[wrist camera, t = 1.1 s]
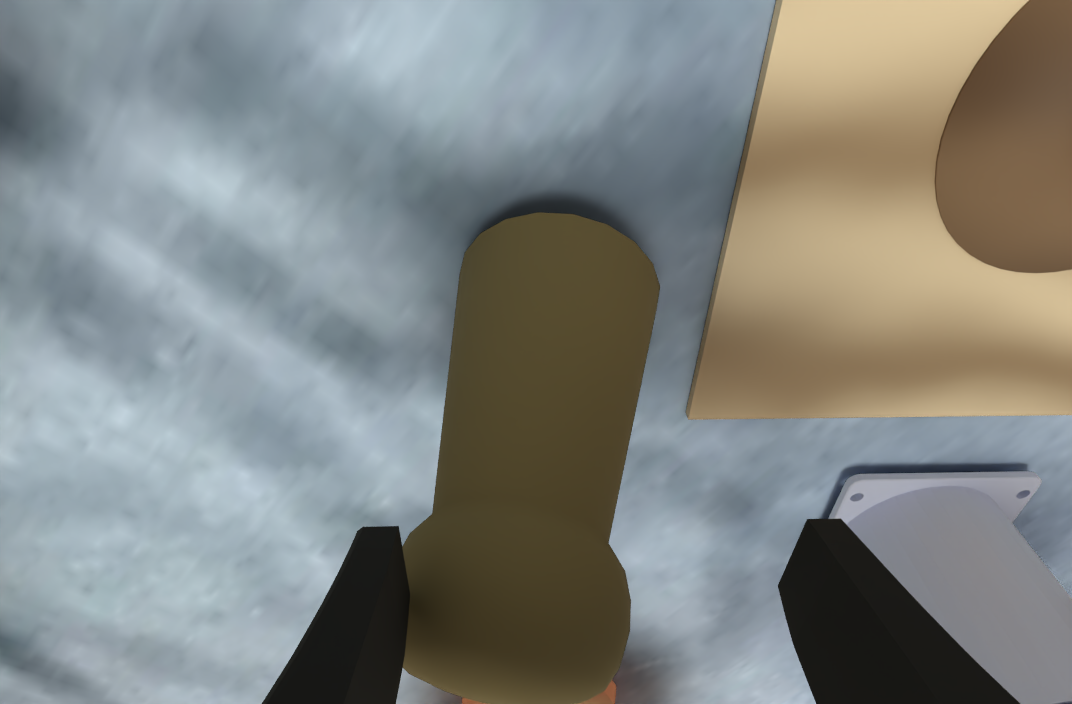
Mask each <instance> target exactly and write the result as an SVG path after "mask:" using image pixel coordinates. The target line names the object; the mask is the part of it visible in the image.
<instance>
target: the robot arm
mask: <svg viewBox="0 0 1072 704" xmlns="http://www.w3.org/2000/svg"><path fill="white" fill-rule="evenodd" d="M1041 483H1042V481H1041V479H1040V477H1039V476H1038V475H1037V474H1036V473H1034V472H1030V471H1015V472H952V473H888V474H856V475H853V476H851V477H850V478H848V479H847V481H846V482H845V484H844V486H843V488H842V490H841V492H840V495H839V497H838V499H837V501H836V503H835V505H834V507H833V509H832V512H831V514H830V516H829V518H828V519H807V521H806V523H805V525H804V528H803V530H802V532H801V535H800V537H799V539H798V541H797V544H796V546H795V548H794V550H793V553H792V555H791V557H790V559H789V562H788V564H787V566H786V569H785V571H784V573H783V575H782V578H781V580H780V582H779V584H778V588H779V592H780V596H781V600H782V604H783V608H784V612H785V616H786V620H787V623H788V627H789V631H790V634H791V638H792V641H793V645H794V647H795V650H796V653H797V655H798V658H799V661H800V663H801V666H802V668H803V671H804V673H805V676H806V679H807V681H808V684H809V686H810V689H811V691H812V694H813V696H814V699H815V701H816V704H1072V598H1071V597H1070V596H1069V594H1068V593H1067V592H1066V591H1065V589H1064V588H1063V587H1062V586H1061V584H1060V583H1059V582H1058V580H1057V579H1056V578H1055V577H1054V575H1053V574H1052V573H1051V572H1050V570H1049V569H1048V568H1047V567H1046V565H1045V564H1044V563H1043V561H1042V560H1041V559H1040V558H1039V556H1038V555H1037V554H1036V553H1035V551H1034V550H1033V549H1032V548H1031V546H1030V545H1029V544H1028V542H1027V541H1026V540H1025V539H1024V537H1023V536H1022V535H1021V534H1020V532H1019V531H1018V530H1017V528H1016V527H1015V526H1014V525H1013V521H1014V520H1015V519H1016V517H1017V516H1018V515H1019V513H1020V512H1021V511H1022V509H1023V508H1024V507H1025V505H1026V504H1027V503H1028V501H1029V500H1030V499H1031V497H1032V496H1033V495H1034V493H1035V492H1036V491H1037V489H1038V488H1039V487H1040V485H1041ZM409 603H410V590H409V584H408V578H407V572H406V566H405V561H404V555H403V549H402V543H401V537H400V532H399V526H388V527H362V528H361V529H360V530H358V531H357V533H356V536H355V538H354V540H353V543H352V545H351V547H350V549H349V551H348V553H347V556H346V558H345V560H344V562H343V564H342V566H341V568H340V570H339V572H338V574H337V576H336V578H335V580H334V582H333V584H332V586H331V588H330V590H329V591H328V593H327V595H326V597H325V599H324V601H323V603H322V605H321V606H320V608H319V610H318V612H317V614H316V615H315V617H314V619H313V621H312V622H311V624H310V626H309V628H308V629H307V631H306V633H305V634H304V636H303V638H302V640H301V641H300V643H299V645H298V647H297V648H296V650H295V652H294V654H293V655H292V657H291V659H290V660H289V662H288V663H287V665H286V667H285V668H284V670H283V671H282V673H281V674H280V676H279V678H278V679H277V681H276V682H275V684H274V685H273V687H272V689H271V690H270V692H269V693H268V695H267V696H266V698H265V700H264V701H263V703H262V704H396V699H397V694H398V689H399V683H400V678H401V673H402V667H403V662H404V656H405V648H406V637H407V627H408V615H409Z"/></svg>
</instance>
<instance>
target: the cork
mask: <svg viewBox="0 0 1072 704" xmlns="http://www.w3.org/2000/svg"><path fill="white" fill-rule="evenodd" d="M659 290H660V285H659V282H658V278H657V275H656V272H655V269H654V266H653V263H652V262H651V261H650V260H649V258H648V257H647V256H646V255H645V254H644V252H643V251H642V250H641V249H640V248H639V246H638V245H637V244H636V243H635V242H634V241H633V240H631V239H629V238H628V237H626V236H625V235H623V234H621V233H620V232H618V231H617V230H615V229H614V228H612V227H610V226H609V225H607V224H604V223H601V222H597V221H594V220H591V219H588V218H584V217H581V216H578V215H574V214H560V213H540V212H538V213H533V214H528V215H523V216H519V217H514V218H509V219H505V220H503V221H502V222H500V223H498V224H496V225H494V226H493V227H491V228H489V229H487V230H485V231H484V232H482V233H480V235H479V236H478V237H477V238H476V239H475V241H474V242H473V243H472V244H471V246H470V247H469V248H468V249H467V250H466V252H465V254H464V258H463V262H462V266H461V271H460V276H459V284H458V293H457V302H456V311H455V319H454V328H453V337H452V346H451V355H450V363H449V372H448V381H447V390H446V398H445V407H444V416H443V425H442V433H441V442H440V451H439V460H438V468H437V477H436V486H435V495H434V504H433V512H432V515H430V516H429V517H428V518H427V519H426V520H425V521H424V522H422V523H421V524H420V525H419V526H418V527H417V528H415V529H414V530H413V531H412V532H411V533H410V534H409V536H408V538H407V539H406V541H405V543H404V545H403V547H402V549H403V555H404V561H405V566H406V572H407V578H408V584H409V590H410V603H409V615H408V627H407V637H406V648H405V656H404V662H403V668H404V669H405V670H406V671H407V672H408V673H409V674H411V675H413V676H415V677H417V678H419V679H421V680H423V681H425V682H427V683H429V684H431V685H433V686H435V687H437V688H439V689H441V690H443V691H446V692H449V693H452V694H455V695H457V696H460V697H463V698H466V699H470V700H474V701H477V702H482V703H487V704H579V703H581V702H584V701H587V700H589V699H591V698H593V697H595V696H596V695H598V694H600V693H602V692H604V691H605V690H606V688H607V687H608V685H609V683H610V682H611V680H612V679H613V677H614V676H615V674H616V673H617V671H618V670H619V668H620V665H621V661H622V658H623V654H624V651H625V647H626V643H627V640H628V636H629V632H630V609H631V599H630V594H629V589H628V584H627V579H626V574H625V570H624V569H623V567H622V565H621V564H620V562H619V560H618V558H617V557H616V555H615V553H614V552H613V550H612V548H611V547H610V545H609V543H608V542H609V538H610V533H611V528H612V523H613V518H614V513H615V508H616V504H617V499H618V494H619V489H620V484H621V479H622V474H623V470H624V465H625V460H626V455H627V450H628V445H629V441H630V436H631V431H632V426H633V421H634V416H635V411H636V407H637V402H638V397H639V392H640V387H641V382H642V377H643V373H644V368H645V363H646V358H647V353H648V348H649V343H650V339H651V334H652V329H653V324H654V319H655V314H656V310H657V303H658V297H659Z"/></svg>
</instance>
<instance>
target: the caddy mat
mask: <svg viewBox="0 0 1072 704" xmlns="http://www.w3.org/2000/svg"><path fill="white" fill-rule="evenodd" d="M686 414H687V417H688V420H689V419H774V418H858V417H942V416H1027V415H1072V0H776V4H775V9H774V13H773V18H772V22H771V27H770V32H769V36H768V41H767V45H766V50H765V54H764V59H763V63H762V68H761V72H760V77H759V82H758V86H757V91H756V95H755V100H754V104H753V109H752V113H751V118H750V122H749V127H748V132H747V136H746V141H745V145H744V150H743V154H742V159H741V163H740V168H739V172H738V177H737V182H736V186H735V191H734V195H733V200H732V204H731V209H730V213H729V218H728V222H727V227H726V231H725V236H724V241H723V245H722V250H721V254H720V259H719V263H718V268H717V272H716V277H715V281H714V286H713V291H712V295H711V300H710V304H709V309H708V313H707V318H706V322H705V327H704V331H703V336H702V341H701V345H700V350H699V354H698V359H697V363H696V368H695V372H694V377H693V381H692V386H691V391H690V395H689V400H688V404H687V409H686Z"/></svg>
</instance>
